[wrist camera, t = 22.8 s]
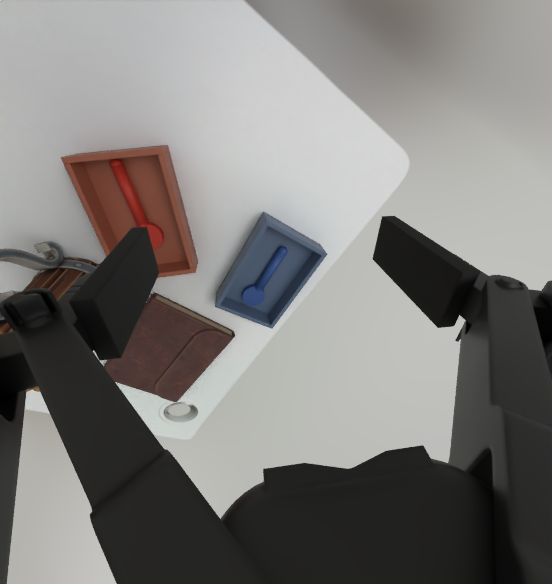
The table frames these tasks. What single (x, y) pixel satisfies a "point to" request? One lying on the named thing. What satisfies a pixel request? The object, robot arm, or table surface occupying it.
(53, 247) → the mug
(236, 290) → the blue bin
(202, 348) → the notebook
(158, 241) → the red spoon
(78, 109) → the table surface
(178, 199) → the red bin
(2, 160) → the table surface
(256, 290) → the blue spoon
